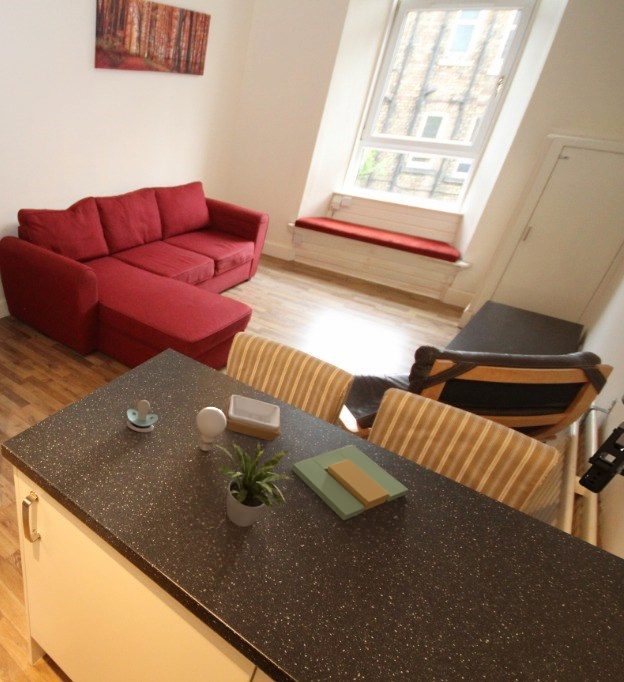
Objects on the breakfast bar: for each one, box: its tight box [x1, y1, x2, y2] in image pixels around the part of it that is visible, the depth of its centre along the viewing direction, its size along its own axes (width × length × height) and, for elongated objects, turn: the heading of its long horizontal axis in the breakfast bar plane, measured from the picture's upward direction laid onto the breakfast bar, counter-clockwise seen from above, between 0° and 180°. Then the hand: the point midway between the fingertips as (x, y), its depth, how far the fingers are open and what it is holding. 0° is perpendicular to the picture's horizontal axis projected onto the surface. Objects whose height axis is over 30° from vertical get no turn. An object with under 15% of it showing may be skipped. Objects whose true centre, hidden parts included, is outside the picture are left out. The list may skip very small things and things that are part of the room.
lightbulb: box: [195, 406, 227, 452], centre depth 96 cm, size 6×6×11 cm
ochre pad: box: [326, 459, 389, 512], centre depth 92 cm, size 6×10×2 cm, turn 24°
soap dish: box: [224, 394, 281, 442], centre depth 106 cm, size 12×10×5 cm
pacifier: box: [126, 399, 159, 433], centre depth 103 cm, size 7×6×6 cm
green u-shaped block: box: [290, 444, 409, 521], centre depth 93 cm, size 18×14×2 cm
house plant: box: [211, 440, 294, 528], centre depth 80 cm, size 14×14×16 cm
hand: (603, 479), depth 62 cm, fingers open, 8 cm apart
